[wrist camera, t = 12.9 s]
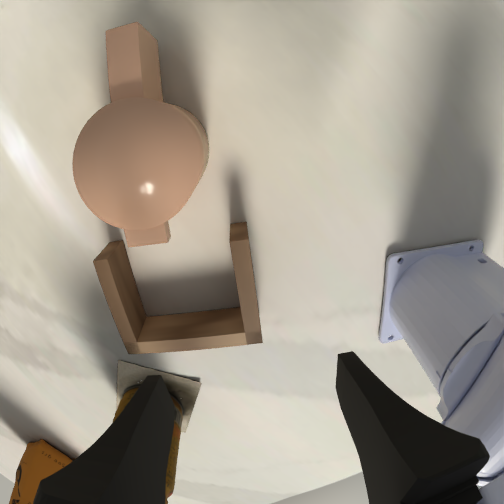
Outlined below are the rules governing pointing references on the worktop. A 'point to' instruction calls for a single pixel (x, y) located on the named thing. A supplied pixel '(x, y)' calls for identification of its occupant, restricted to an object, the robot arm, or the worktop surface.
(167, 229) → the cylinder with bar handle
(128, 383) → the condiment
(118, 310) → the cradle
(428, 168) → the worktop surface
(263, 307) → the worktop surface
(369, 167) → the worktop surface
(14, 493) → the coffee package
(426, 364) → the robot arm
